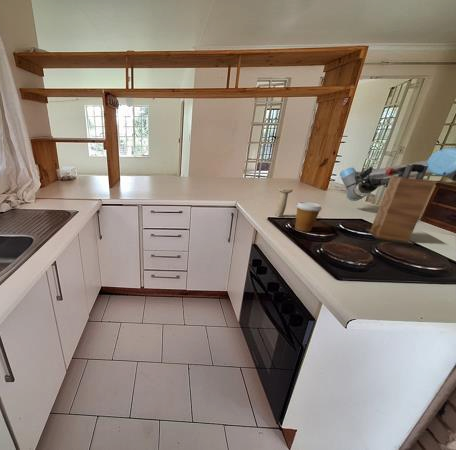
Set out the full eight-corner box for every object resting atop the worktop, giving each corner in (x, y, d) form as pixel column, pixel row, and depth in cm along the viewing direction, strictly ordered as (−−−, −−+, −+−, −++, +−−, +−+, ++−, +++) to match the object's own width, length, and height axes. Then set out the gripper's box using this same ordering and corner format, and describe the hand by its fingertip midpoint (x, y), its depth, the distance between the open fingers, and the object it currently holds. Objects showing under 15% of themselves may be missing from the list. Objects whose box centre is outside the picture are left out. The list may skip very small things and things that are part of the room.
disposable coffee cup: (310, 234, 102) (317, 208, 98) (287, 228, 109) (293, 203, 105) (318, 230, 108) (325, 205, 104) (296, 224, 114) (302, 200, 110)
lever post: (364, 231, 109) (390, 163, 98) (397, 236, 105) (428, 165, 94) (375, 240, 98) (405, 165, 88) (412, 246, 94) (449, 168, 84)
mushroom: (274, 213, 130) (280, 187, 125) (286, 216, 127) (293, 189, 122) (271, 215, 127) (277, 188, 122) (284, 218, 123) (291, 190, 118)
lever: (382, 175, 111) (385, 168, 110) (392, 176, 110) (394, 168, 109) (411, 172, 91) (414, 162, 90) (423, 172, 90) (426, 163, 89)
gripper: (394, 196, 124) (423, 181, 105) (338, 190, 133) (355, 175, 114) (395, 183, 125) (425, 165, 106) (339, 178, 134) (357, 161, 115)
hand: (389, 170), depth 110 cm, fingers open, 13 cm apart
